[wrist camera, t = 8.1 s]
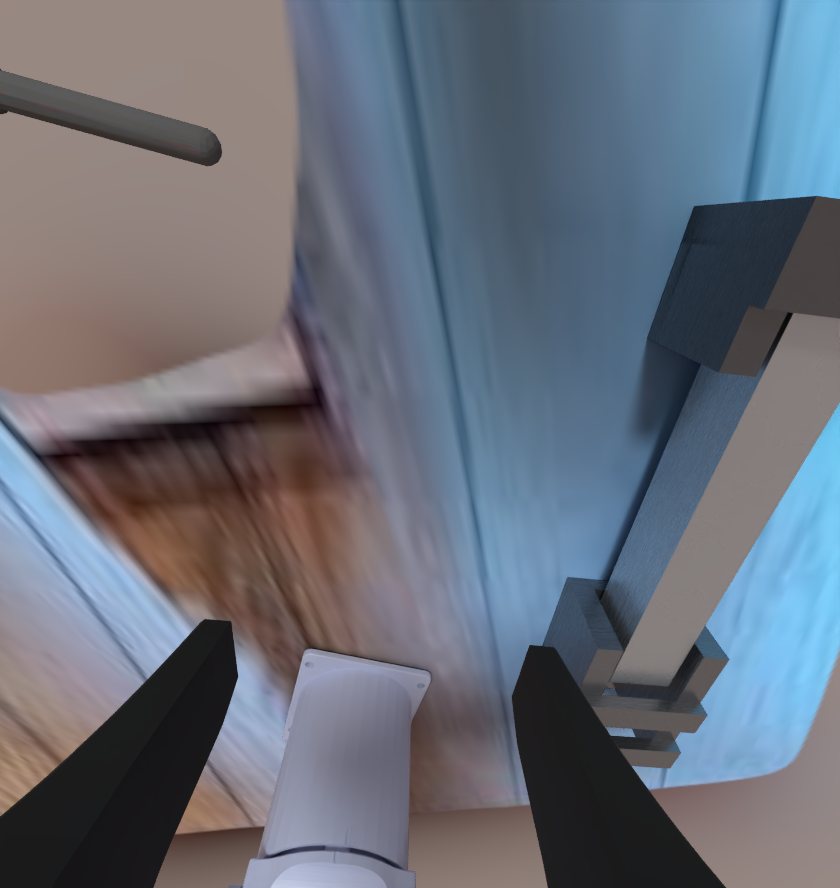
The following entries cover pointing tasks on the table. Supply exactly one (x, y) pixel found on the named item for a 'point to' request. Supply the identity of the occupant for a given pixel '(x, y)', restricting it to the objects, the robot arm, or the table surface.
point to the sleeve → (637, 706)
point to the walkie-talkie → (108, 119)
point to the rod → (717, 494)
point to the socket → (749, 279)
